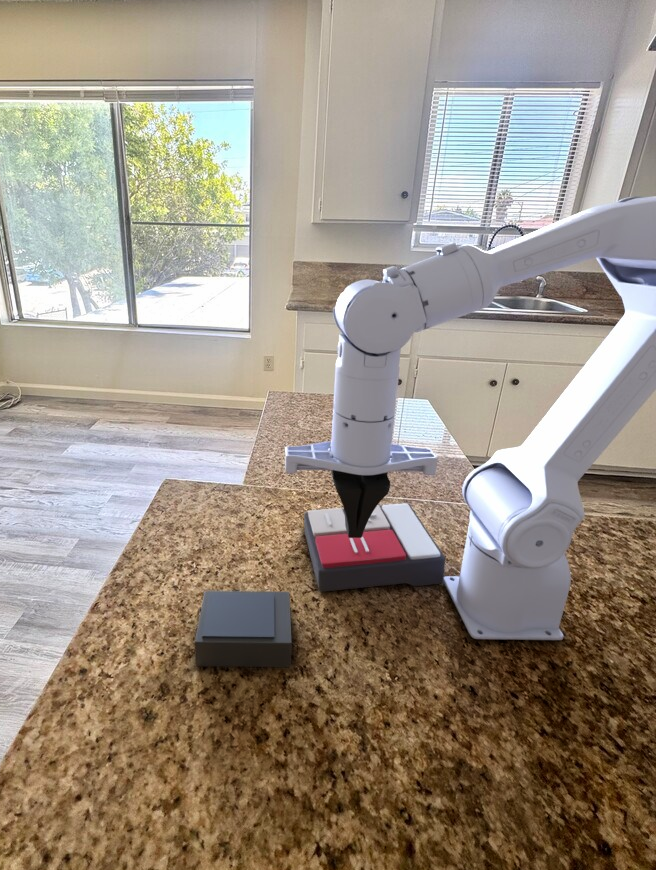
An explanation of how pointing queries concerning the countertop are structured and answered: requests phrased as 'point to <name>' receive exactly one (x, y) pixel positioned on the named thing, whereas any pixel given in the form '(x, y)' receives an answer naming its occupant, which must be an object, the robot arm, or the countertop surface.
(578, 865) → the countertop surface
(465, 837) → the countertop surface
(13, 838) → the countertop surface
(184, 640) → the countertop surface
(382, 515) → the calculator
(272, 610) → the block
